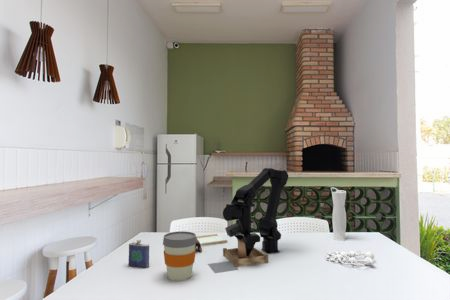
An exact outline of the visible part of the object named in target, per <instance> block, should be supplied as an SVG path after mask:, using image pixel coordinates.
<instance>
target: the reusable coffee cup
mask: <svg viewBox="0 0 450 300" xmlns="http://www.w3.org/2000/svg"><path fill="white" fill-rule="evenodd" d="M196 236H197V235H196V233H195V232H190V231H184V230H183V231H172V232H168V233H166V234H164V235H163V239H162V240H163V241H162V246H163V249H164V250H163V258H164V264H165V266H166V273H167V274H166V275H167V278H168V279H170V280H171V281H178V282H180V281H185V280H188V279H190V278H191V277H192V274H193V266H194V263H195V260H196V251H197V250H196V248H195V244H196Z"/></svg>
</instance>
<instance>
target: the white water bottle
mask: <svg viewBox="0 0 450 300" xmlns="http://www.w3.org/2000/svg"><path fill="white" fill-rule="evenodd" d="M333 190H335V191H333ZM330 191H331V195H332V196H331V198H332V204H333V209H332V216H331V217H332V218H331V219H332V221H331V222H332V232H333V239H334V241H342V242H345V241H346V239H345V237H346V229H347V213H346V207H345V204H346V199H347V191H346V190H344V189H343V190H341V189H338V188H337V187H330Z"/></svg>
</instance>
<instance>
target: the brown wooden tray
mask: <svg viewBox="0 0 450 300" xmlns="http://www.w3.org/2000/svg"><path fill="white" fill-rule="evenodd" d="M222 256H223V257H224V258H226V259H227V261H230V262H231V263H232V264H234V266H235V267H237V268H239V267H246V266H252V265H260V264H268V263H269V254H268V253H263V252H262V251H261V250H259V249H257V248H256V247H255V246H254V247H253V249H252V257H251V258H243V259H241V258H238V247H235V248H226V247H224V248H222Z"/></svg>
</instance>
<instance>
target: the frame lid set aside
mask: <svg viewBox="0 0 450 300" xmlns="http://www.w3.org/2000/svg"><path fill="white" fill-rule="evenodd" d="M196 238H197V240H198V241H199V242H200V244H201V247H208V246H214V245H221V244H223V245H224V244H227V243H228V239H224V238H222V237H220V236H219V235H218V234H217V233H212V234H205V235H196Z"/></svg>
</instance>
